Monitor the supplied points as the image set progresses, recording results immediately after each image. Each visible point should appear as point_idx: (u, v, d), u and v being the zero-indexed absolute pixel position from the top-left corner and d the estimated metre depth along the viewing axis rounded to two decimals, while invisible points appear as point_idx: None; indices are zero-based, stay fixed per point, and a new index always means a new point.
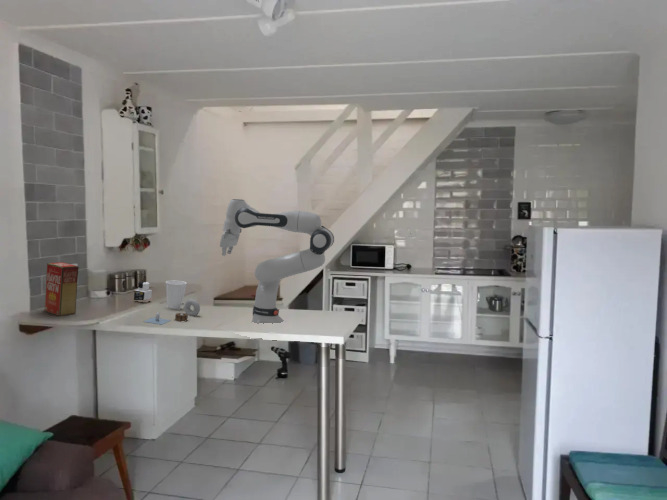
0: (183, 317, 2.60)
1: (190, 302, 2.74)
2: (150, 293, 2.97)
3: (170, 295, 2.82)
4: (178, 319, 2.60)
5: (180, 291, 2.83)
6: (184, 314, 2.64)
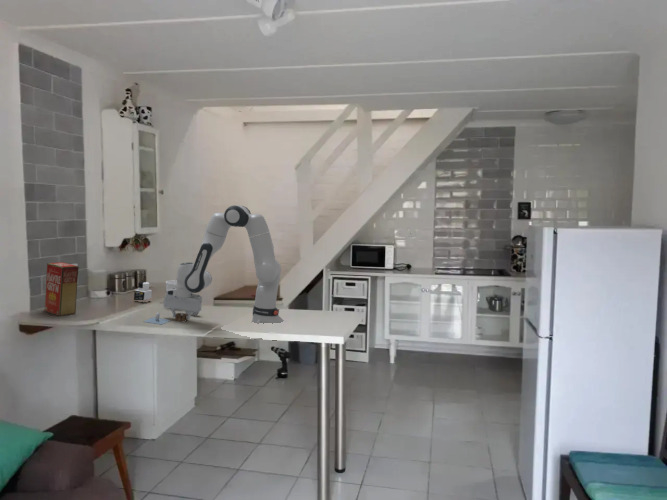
0: (183, 317, 2.60)
1: None
2: (150, 293, 2.97)
3: None
4: (178, 319, 2.60)
5: None
6: (184, 314, 2.64)
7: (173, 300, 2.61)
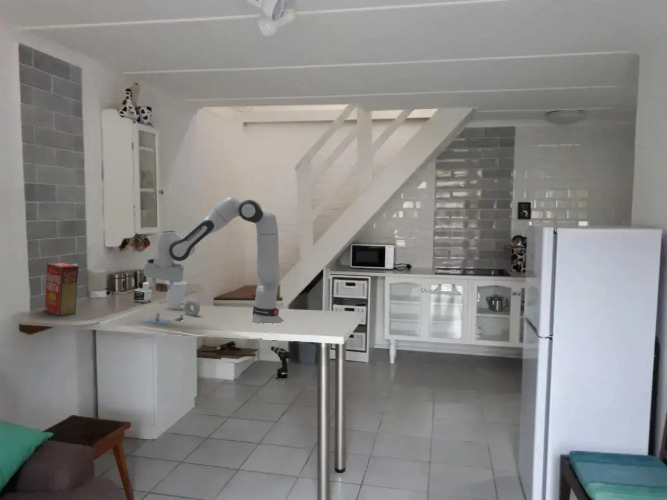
0: (163, 288, 2.52)
1: (190, 302, 2.74)
2: (150, 293, 2.97)
3: (170, 295, 2.82)
4: (158, 289, 2.52)
5: (180, 291, 2.83)
6: (165, 285, 2.55)
7: (154, 269, 2.53)
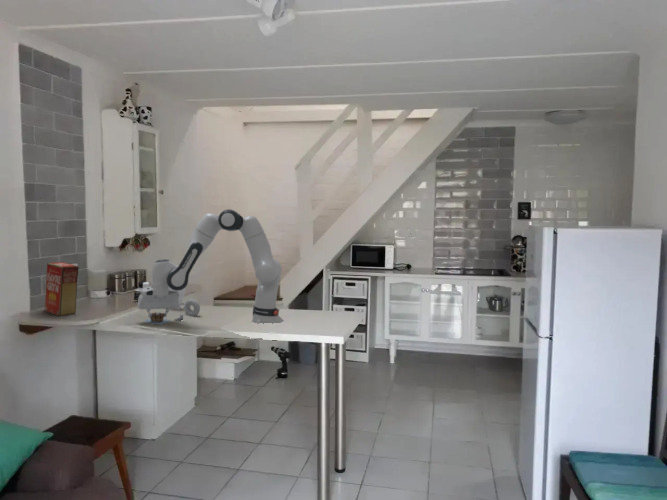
0: (162, 316, 2.54)
1: (190, 302, 2.74)
2: None
3: None
4: (157, 319, 2.52)
5: (180, 291, 2.83)
6: None
7: (150, 300, 2.49)
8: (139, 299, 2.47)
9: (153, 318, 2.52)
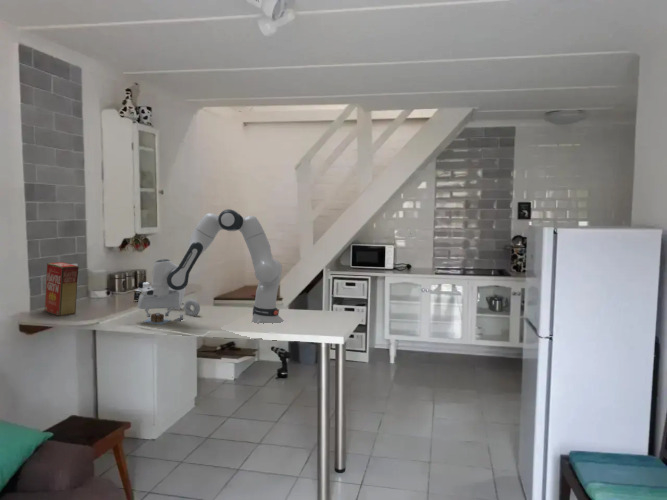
0: (162, 317, 2.54)
1: (190, 302, 2.74)
2: None
3: None
4: (158, 320, 2.53)
5: (180, 291, 2.83)
6: None
7: (151, 300, 2.50)
8: (139, 299, 2.48)
9: (153, 319, 2.52)
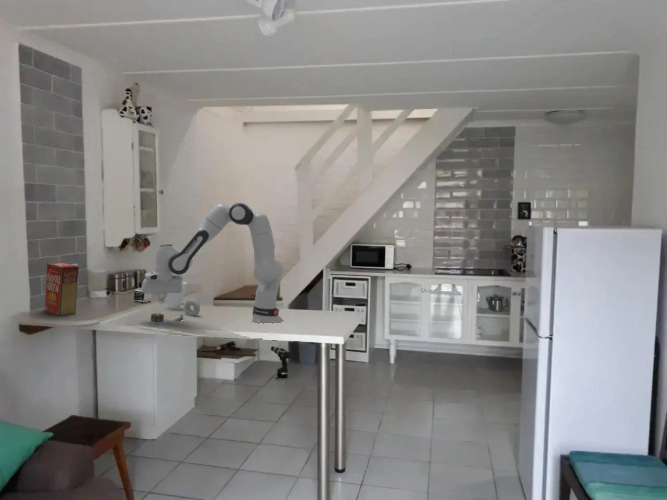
0: (162, 317, 2.54)
1: (190, 302, 2.74)
2: (150, 293, 2.97)
3: (170, 295, 2.82)
4: (158, 320, 2.53)
5: None
6: None
7: (154, 284, 2.51)
8: (143, 283, 2.49)
9: (153, 319, 2.52)
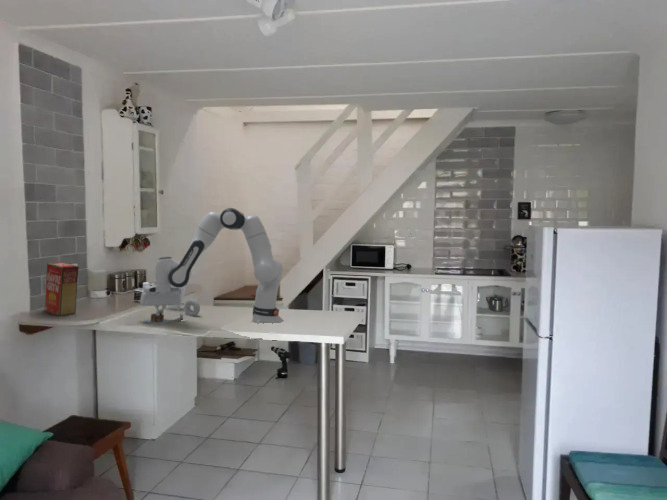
0: (162, 317, 2.54)
1: (190, 302, 2.74)
2: None
3: None
4: (158, 320, 2.53)
5: None
6: None
7: (153, 297, 2.52)
8: (142, 296, 2.50)
9: (153, 319, 2.52)
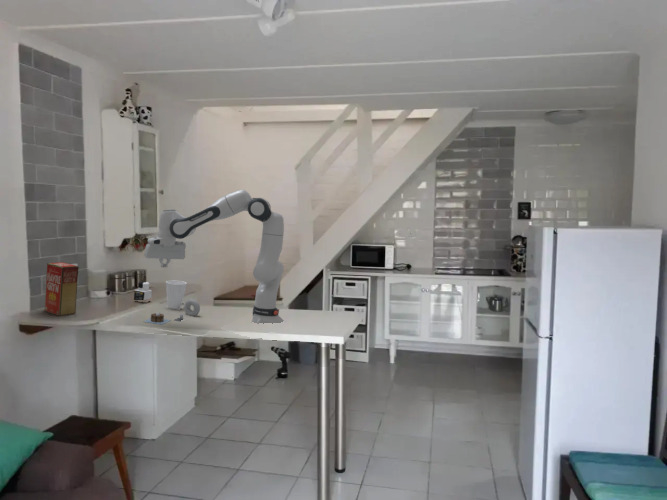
0: (162, 317, 2.54)
1: (190, 302, 2.74)
2: (150, 293, 2.97)
3: (170, 295, 2.82)
4: (158, 320, 2.53)
5: (180, 291, 2.83)
6: None
7: (157, 249, 2.50)
8: (146, 248, 2.48)
9: (153, 319, 2.52)
